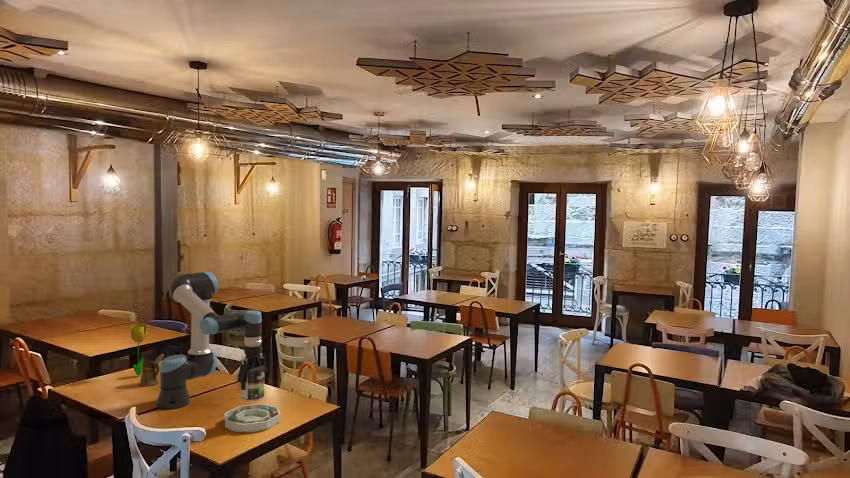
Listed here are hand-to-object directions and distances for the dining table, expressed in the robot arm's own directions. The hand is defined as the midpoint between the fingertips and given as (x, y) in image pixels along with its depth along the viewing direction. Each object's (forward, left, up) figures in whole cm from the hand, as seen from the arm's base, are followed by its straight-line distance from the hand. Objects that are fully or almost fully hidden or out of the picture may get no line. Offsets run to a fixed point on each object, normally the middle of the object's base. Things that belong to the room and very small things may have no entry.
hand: (252, 392), depth 251 cm
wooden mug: (-84, +16, -14) cm, 87 cm away
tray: (0, 0, -14) cm, 14 cm away
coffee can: (0, 0, -2) cm, 2 cm away
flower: (-102, +22, -14) cm, 105 cm away
